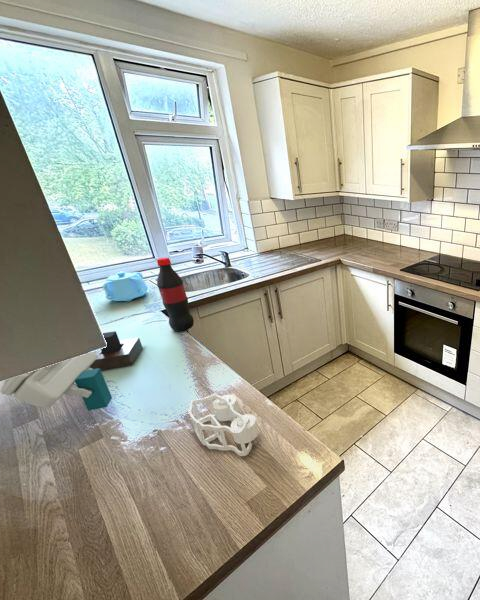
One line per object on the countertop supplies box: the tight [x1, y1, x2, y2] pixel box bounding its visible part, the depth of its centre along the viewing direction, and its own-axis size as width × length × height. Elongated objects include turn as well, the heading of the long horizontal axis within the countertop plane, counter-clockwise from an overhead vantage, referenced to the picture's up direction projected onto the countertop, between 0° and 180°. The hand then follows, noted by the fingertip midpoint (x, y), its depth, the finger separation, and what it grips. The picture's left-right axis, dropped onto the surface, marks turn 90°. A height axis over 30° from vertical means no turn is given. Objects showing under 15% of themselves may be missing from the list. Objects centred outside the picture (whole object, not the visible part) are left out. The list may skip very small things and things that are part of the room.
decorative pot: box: [102, 270, 148, 303], centre depth 163 cm, size 16×16×14 cm
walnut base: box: [90, 336, 143, 372], centre depth 112 cm, size 21×12×4 cm, turn 113°
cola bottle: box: [156, 257, 195, 332], centre depth 130 cm, size 8×8×30 cm
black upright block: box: [101, 330, 122, 354], centre depth 112 cm, size 4×4×10 cm
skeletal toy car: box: [187, 393, 259, 457], centre depth 82 cm, size 20×11×7 cm, turn 48°
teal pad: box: [74, 368, 113, 412], centre depth 87 cm, size 4×4×10 cm
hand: (96, 387), depth 87 cm, fingers closed on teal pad, 4 cm apart
